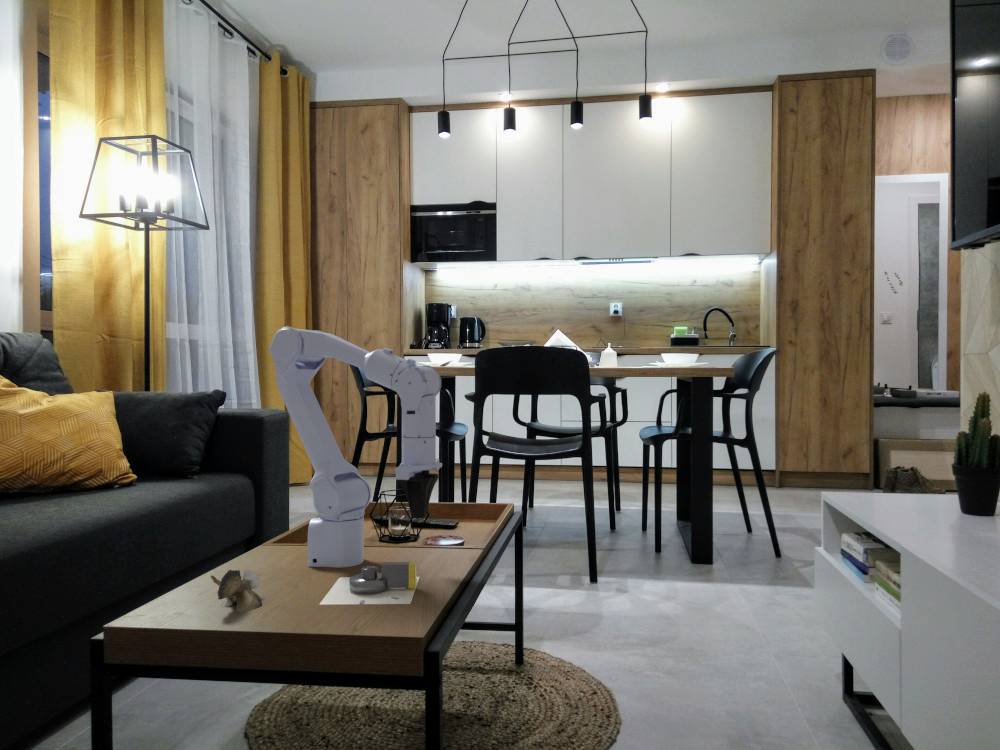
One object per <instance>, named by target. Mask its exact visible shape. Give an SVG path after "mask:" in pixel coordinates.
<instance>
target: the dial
mask: <svg viewBox="0 0 1000 750" xmlns="http://www.w3.org/2000/svg"><path fill="white" fill-rule="evenodd" d="M417 568H418V567H417V561H383V562H382V563H381V572H378V567H377V566H375V565H365V566H363V567H361V571H360V572H361V573H357V574H354V575H352V576H349V577H350V579H349V590H350V591H352V592H355V593H362V594H369V593H378V592H382V591H385V590H387V589H388V588H415V587H416V588H417V586H418V583H417V577H418V576H417V574H418V573H417ZM416 585H417V586H416Z"/></svg>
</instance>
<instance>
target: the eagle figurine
mask: <svg viewBox="0 0 1000 750" xmlns="http://www.w3.org/2000/svg"><path fill="white" fill-rule="evenodd" d="M210 579H211V580H212V581H213V583H214V584H216V585H218V590H217V592H216V593H217V597H218V598H217V599H218V600H223V599H225V601H224V603H223V604H222V608H226V607H230V606H232V605H233V604H235V603H236V606H235V610H234V611H235V612H248V611H253V610H256V609H259V608H261V607H263V603H262V598H261V597H260V595H258V593H256V592H255V591H253V590H256V589H258V588H259V585H260V581H259V580H260V579H259V576H258V573H257V572H256V571H253V570H251V569H245V570H244V572H243V576H242V575H241V570H240V569H235V570H232V569H228V570H227V572H226V573H224V575H223V577H221V580H219V579H218V578H216V576H214V575H210Z"/></svg>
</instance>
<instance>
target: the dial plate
mask: <svg viewBox="0 0 1000 750" xmlns="http://www.w3.org/2000/svg"><path fill="white" fill-rule="evenodd" d="M350 577H351V576H348V577H347V576H345V577H344V576H341V577H338V579H336V581H335V582H334V584H333V586H331V588H330V589H329V591H328V592H327V593H326V595H324V597H323V599H322V600H321V601H320V602H319V604H318V605H319V606H331V605H332V606H335V605H336V606H339V605H340V606H341V605H345V606H346V605H347V606H348V605H353V606H354V605H411V603H412V600H413V597H414V595H415V592H416V589H417V587H418V583H419V580H420V576H417V585H416V587H415V588H388V589H387V590H385V591H382V592H378V593H369V594H362V593H355V592H352V591H350V590H349V579H350Z"/></svg>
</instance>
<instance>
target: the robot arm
mask: <svg viewBox="0 0 1000 750" xmlns="http://www.w3.org/2000/svg"><path fill="white" fill-rule="evenodd" d="M268 351H269V354H270V356H271V359H272V361H273V364H274V369H275V379H276V381H275V382H276V387H277V389H278V392H279V394H280V396H281V398H282V401H283V403H284V405H285V407H286V409H287V412H288V414H289V417H290V419H291V421H292V423H293V425H294V427H295V430H296V432H297V434H298V437H299V440H300V441H301V443H302V445H303V447H304V449H305V452H306V455H307V456H308V459H309V462H310V464H311V465H312V468H313V470H314V474H313V476H312V478H311V480H310V482H309V486H310V489H311V492H312V498H313V499H312V500H313V501H312V502H313V506H314V509H315V511H316V513H317V514H318V515H319V517H313V518H311V519H310V521H309V524H308V529H307V567H308V568H310V567H311V568H317V567H318V568H319V567H321V568H322V567H323V568H324V567H325V568H326V567H327V568H348V567H349V568H350V567H355V566H358V565H362V564H363V563H364V560H365V559H364V557H365V556H364V555H365V554H364V553H365V552H364V551H365V549H364V543H365V542H364V541H365V540H364V539H365V538H364V537H365V535H364V531H365V529H364V527H365V526H364V517H365V516H364V515H365V514H366V512H365V511H366V508H367V507H368V506H369V504H370V503H371V501H372V488H371V486H370V484H369V483H368V481H367V479H365V477H363V476H362V475H361V474H360V473H359V471H358V468H357V467H356V466H355V465H353V464H352V463H350V462H349V461H347V460H346V459H345V457H344V455H343V453H342V452H341V449H340V446H339V445H338V443H337V440H336V438H335V436H334V434H333V431H332V430H331V427H330V425H329V423H328V421H327V419H326V416H325V414H324V412H323V410H322V408H321V406H320V404H319V401H318V399H317V396H316V395H315V393H314V390H313V388H312V386H311V382H312V380H313V378H315V376H316V374H317V372H319V370H320V369H321V367H322V366H323V365H324V363H325V361H326V360H327V359H331V358H333V359H336V360H339V361H340V362H343V363H346V364H348V365H352V366H354V367H355V368H356V367H357V368H360V369H361V370H362V371H363V374H364V376H365V378H366V379H367V380H369V381H372V382H373V383H376V384H378V385H380V386H383V387H384V388H387V389H390V390H392V391H394V392H396V394H397V395H398V397H399V399H400V407H401V463H400V464H399V466H397V467H395V480H398V482H399V484H400V486H401V487H402V489H403V491H404V493H405V496H406V500H407V503H408V508H409V511H410V515H411V518H413V519H424V518H426V517H427V512H428V510H429V505H430V501H431V497H432V492H433V490H434V488H435V485H436V484H437V481H438V480H439V474H438V473H430V472H431V471H438V470H440V469H441V468H442V467H443V463H442V462H440V458H437V457H436V456H437V455H436V454H437V453H436V452H437V451H436V449H437V448H436V443H437V441H436V435H437V434H436V432H437V430H436V429H437V428H436V426H437V425H436V424H437V423H436V421H437V420H436V417H437V416H436V414H437V413H436V411H437V409H436V407H437V405H436V403H437V402H436V401H437V400H436V397H437V395H438V394H439V393H440V391H441V388H442V377H441V376H440V374H439V372H438V371H437V370H436V369H435V368H432V366H430V365H421V366H420V365H419V366H418V365H417V364H416V363H417V362H416V361H417V360H415V359H412V358H408V359H405V358H403V357H401V356H398V355H396V354H394V352H395V351H394V350H393V349H391V348H387V347H384V348H383V349H381V348H378V349H375V350H373V351H368V349H367V350H366V349H364V348H363V347H360V346H358V345H356V344H354V343H352V342H349V341H347V340H346V339H344V338H342V337H339V336H337V335H336V334H332V333H328V332H324V331H322V330H318V329H315V330H311V329H302V328H294V327H291V326H284V327H281V328H279V329H278V330H276V332H275V333H274V335H273V337H272V341H271V343H270V346H269V348H268ZM315 561H316V562H315Z"/></svg>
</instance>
